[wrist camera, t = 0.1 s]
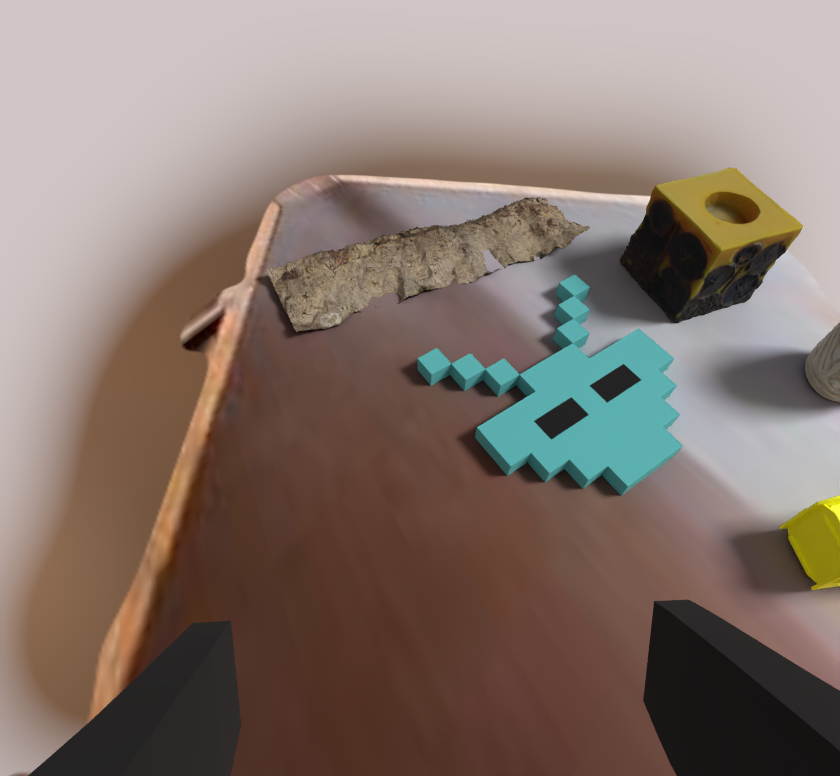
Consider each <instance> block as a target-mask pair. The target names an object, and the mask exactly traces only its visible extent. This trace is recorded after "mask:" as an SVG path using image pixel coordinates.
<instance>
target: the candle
mask: <svg viewBox="0 0 840 776" xmlns="http://www.w3.org/2000/svg"><path fill="white" fill-rule="evenodd" d="M802 227H803V225H801V224H800V223H799V222H798V221H797V220H796V219H795V218H794V217H792V216H791V215H790V214H788V213H787V212H786V211H785V210H784V209H782V208H781V207H780V206H779V205H778V204H776V203H775V202H774V201H773V200H772V199H771V198H769V197H768V196H767V195H766V194H764V193H763V192H762V191H761V190H760V189H758V188H757V187H756V186H755V185H754V184H752V183H751V182H750V181H749V180H748V179H747V178H746V177H745V176H744V175H742V174H741V173H740V172H739V171H738V170H737V169H736V168H727V169H724V170H721V171H719V172H715V173H709V174H704V175H701V176H697V177H692V178H688V179H682V180H677V181H673V182H668V183H663V184H658V185H656V186H655V187H654V189H653V191H652V194H651V198H650V201H649V203H648V205H647V208H646V215H645V217H644V220H643V222H642V223H641V225H640V226H639V227H638V229H637V230H636V232H635V233H634V234H633V235H632V236H631V238H630V242H629V243H628V244H629V246H627V247H626V249H627V250H626V251H625V252H624V254H623V256H622V257H621V259H620V262H621V263H622V264H623V265H624V266H625V268H626V269H627V270H628V271H629V272H630V273H631V275H632V277H633V278H634V279H635V280H636V281H637V282H638V283H639V284H640V286H641V287H642V288H643V289H644V290H645V291H646V292H647V293H648V295H649V296H650V297H652V299H653V300H654V301H655V302H656V303H657V304H658V305H659V306H660V307H661V308H662V309H663V310H664V312H665V313H666V314H667V316H668V318H670V319H671V320H672V321H674V322H681V321H682V320H685V319H691V318H693V317H695V316H698V315H705V314H707V313H710V312H712V311H715V310H718V309H721V308H724V307H729V306H731V305H733V304H738V303H741V302H746V301H747V300H749V299H750V298H751V296H752V294H753V292H754V291H755V289H757V288H758V287H759V286H760V285H761V284H762V281H763V278H764V276H765V274H766V273H767V272H768V270H769V269H770V268H771V267H772V266H773V265H774V263H775V261H776V259H778V258H779V257H780V256H781V255H782V254H784V253H785V252H786V250H787V249H788V247H789V246H790V245H791V243H792V242H793V240H794V239H795V238H796V237H797V236H798V235H799V233H800V231H801V229H802Z"/></svg>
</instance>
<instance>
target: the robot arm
mask: <svg viewBox="0 0 840 776" xmlns="http://www.w3.org/2000/svg"><path fill="white" fill-rule="evenodd" d="M643 701H644V703H645V706H646V708H647V710H648V713H649V715H650V718H651V720H652V723H653V725H654V727H655V730H656V732H657V735H658V737H659V739H660V741H661V744H662V746H663V748H664V750H665V753H666V755H667V757H668V759H669V762H670V764H671V766H672V767H673V769H674V771H675V773H676V775H677V776H840V691H839V690H838V689H836V688H834V687H832V686H831V685H829V684H827V683H826V682H824V681H822V680H821V679H819V678H817V677H816V676H814V675H812V674H811V673H809V672H807V671H806V670H804V669H803V668H801V667H799V666H798V665H796V664H794V663H793V662H791V661H789V660H788V659H786V658H785V657H783V656H781V655H780V654H778V653H777V652H775V651H773V650H772V649H770V648H768V647H767V646H765V645H764V644H762V643H760V642H759V641H757V640H756V639H754V638H752V637H751V636H749V635H748V634H746V633H744V632H743V631H741V630H739V629H738V628H736V627H735V626H733V625H731V624H730V623H728V622H726V621H725V620H723V619H722V618H720V617H718V616H717V615H715V614H713V613H711V612H710V611H708V610H706V609H705V608H703V607H701V606H699V605H697V604H696V603H694V602H692V601H690V600H672V601H654V608H653V617H652V626H651V636H650V645H649V654H648V663H647V672H646V681H645V690H644V699H643ZM240 727H241V719H240V709H239V699H238V689H237V679H236V669H235V659H234V649H233V639H232V629H231V621H226V622H204V623H193V624H192V625H190V626H189V627H188V628H187V629H186V630H185V631H184V632H183V633H182V634H181V635H180V636H179V637H178V638H177V639H176V640H175V641H174V642H173V643H172V644H171V645H170V646H169V647H167V648H166V649H165V650H164V651H163V652H162V653H161V654H160V655H159V656H158V657H157V658H156V659H155V660H154V661H153V662H152V663H151V664H150V665H149V666H148V667H147V668H146V669H145V670H144V671H143V672H142V673H141V674H140V675H139V676H138V677H137V678H136V679H135V680H134V681H133V682H131V683H130V684H129V685H128V686H127V687H126V688H125V689H124V690H123V691H122V692H121V693H120V694H119V695H118V696H117V697H116V698H115V699H114V700H112V701H111V702H110V703H109V704H108V705H107V706H106V707H105V708H104V709H103V710H102V711H101V712H100V713H99V714H98V715H97V716H95V717H94V718H93V719H92V720H91V721H90V722H89V723H88V724H87V725H86V726H85V727H83V728H82V729H81V730H80V731H79V732H78V733H77V734H76V735H74V736H73V737H72V738H71V739H70V740H69V741H67V742H66V743H65V744H64V745H63V746H62V747H61V748H59V749H58V750H57V751H56V752H55V753H54V754H53V755H52V756H50V757H49V758H48V759H47V760H46V761H45V762H43V763H42V764H41V765H40V766H39V767H38V768H37V769H35V770H34V771H33V772H32V773H31V774H30V775H29V776H230V774H231V770H232V765H233V761H234V756H235V751H236V746H237V741H238V736H239V731H240Z"/></svg>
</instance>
